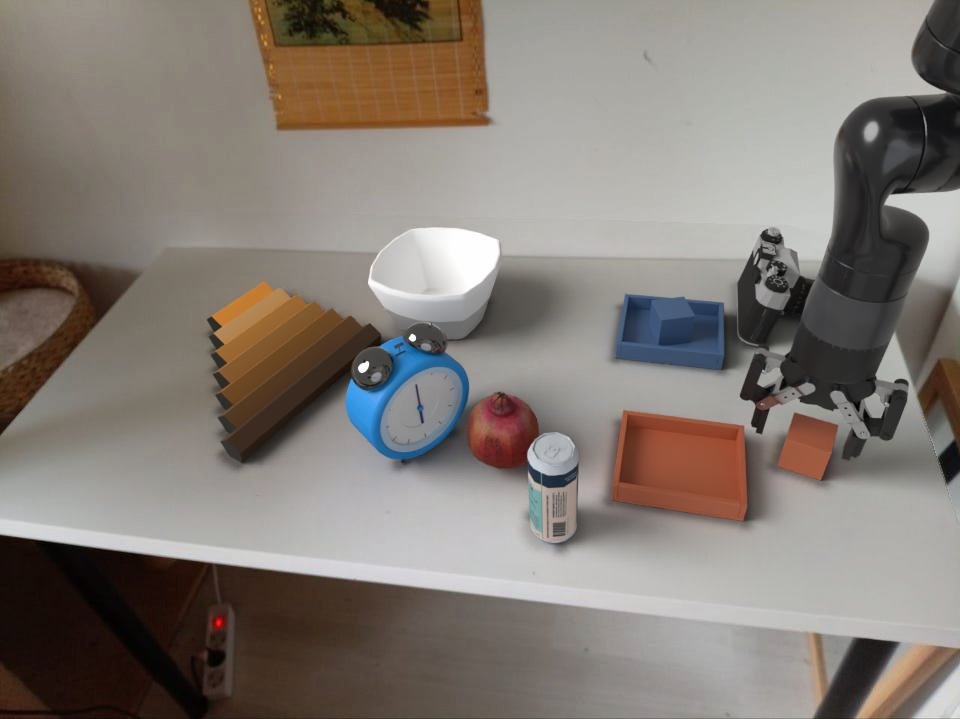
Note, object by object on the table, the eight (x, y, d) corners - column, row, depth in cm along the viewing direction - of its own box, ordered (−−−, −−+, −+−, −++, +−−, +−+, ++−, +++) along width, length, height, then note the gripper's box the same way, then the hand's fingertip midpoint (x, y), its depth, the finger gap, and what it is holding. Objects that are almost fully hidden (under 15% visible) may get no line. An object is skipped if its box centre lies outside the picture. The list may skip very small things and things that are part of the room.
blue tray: (720, 316, 94) (723, 302, 92) (721, 370, 86) (724, 355, 84) (623, 307, 97) (625, 293, 95) (615, 358, 89) (616, 343, 87)
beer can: (585, 519, 70) (589, 440, 63) (562, 553, 67) (563, 475, 60) (544, 500, 73) (543, 421, 65) (521, 532, 70) (517, 454, 62)
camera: (813, 361, 88) (851, 300, 81) (729, 339, 89) (759, 278, 82) (804, 295, 98) (836, 237, 91) (729, 277, 100) (755, 218, 93)
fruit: (544, 434, 80) (543, 371, 73) (535, 489, 74) (533, 425, 67) (476, 429, 81) (469, 366, 75) (463, 482, 75) (454, 418, 69)
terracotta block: (827, 452, 75) (838, 424, 72) (820, 480, 72) (831, 453, 69) (785, 439, 77) (794, 412, 74) (777, 466, 74) (786, 439, 71)
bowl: (413, 272, 108) (404, 220, 102) (519, 288, 103) (517, 234, 96) (360, 341, 96) (347, 285, 89) (479, 363, 90) (473, 306, 84)
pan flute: (245, 465, 79) (383, 346, 94) (236, 445, 77) (379, 326, 92) (121, 391, 91) (262, 295, 106) (110, 372, 89) (256, 277, 104)
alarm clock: (384, 482, 76) (358, 383, 66) (355, 451, 80) (328, 354, 70) (475, 424, 82) (464, 326, 72) (445, 398, 86) (431, 301, 76)
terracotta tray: (740, 440, 77) (744, 425, 75) (743, 521, 69) (747, 506, 67) (621, 424, 80) (623, 409, 78) (611, 500, 72) (612, 485, 70)
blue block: (680, 322, 93) (684, 296, 90) (690, 342, 90) (695, 315, 87) (648, 326, 93) (651, 299, 90) (657, 346, 89) (661, 319, 87)
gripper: (757, 324, 62) (725, 444, 72) (936, 367, 56) (873, 490, 67) (772, 280, 66) (740, 399, 77) (939, 316, 61) (879, 438, 72)
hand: (802, 441), depth 72 cm, fingers open, 8 cm apart
